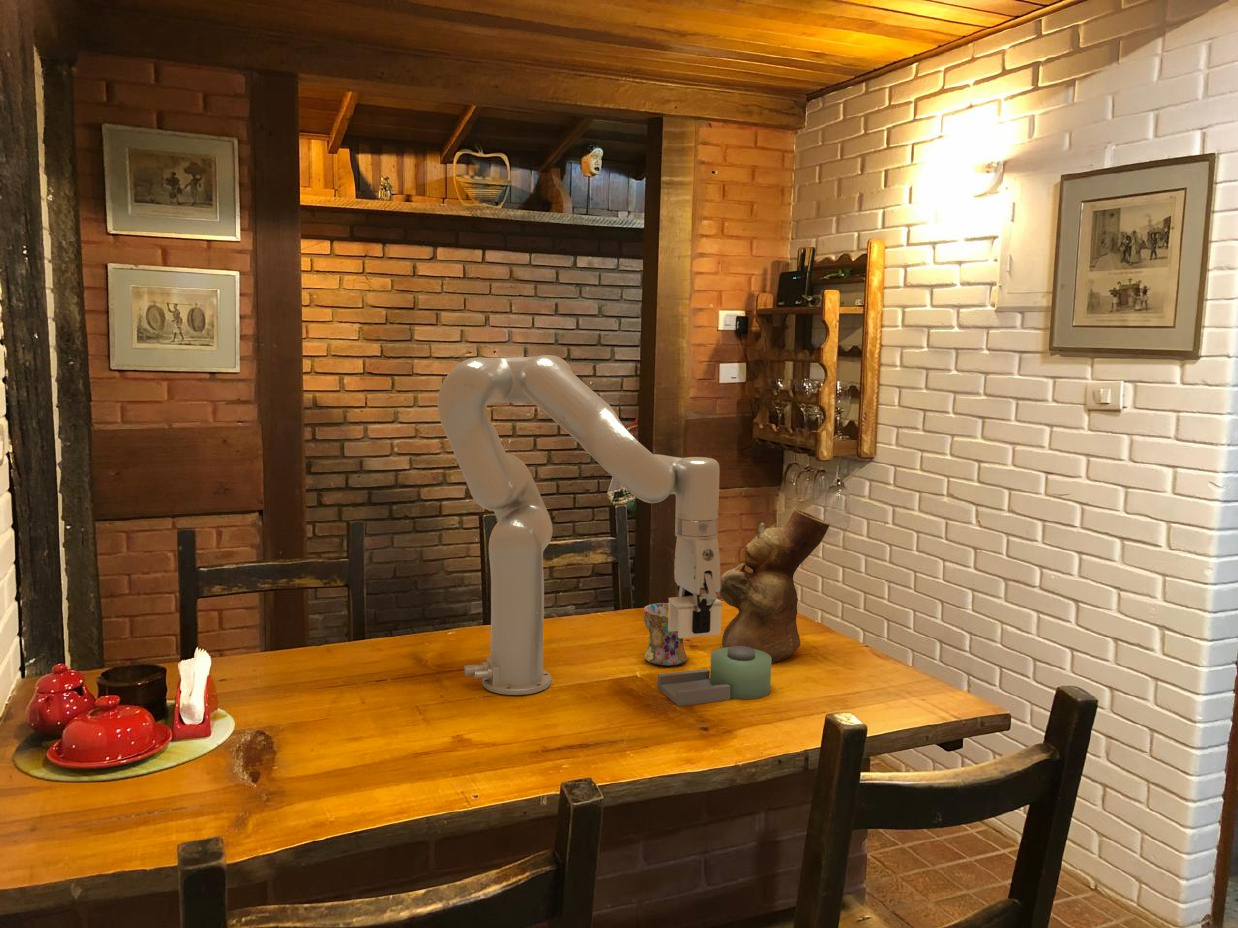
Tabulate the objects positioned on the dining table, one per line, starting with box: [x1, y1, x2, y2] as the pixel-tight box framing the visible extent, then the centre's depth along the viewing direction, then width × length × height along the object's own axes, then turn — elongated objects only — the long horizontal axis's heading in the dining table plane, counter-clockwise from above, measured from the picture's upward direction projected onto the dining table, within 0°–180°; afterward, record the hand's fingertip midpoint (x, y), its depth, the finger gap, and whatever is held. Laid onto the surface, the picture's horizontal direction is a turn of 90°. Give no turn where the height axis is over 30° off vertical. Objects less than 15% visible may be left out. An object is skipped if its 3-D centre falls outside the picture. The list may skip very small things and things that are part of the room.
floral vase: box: [643, 602, 688, 667], centre depth 183 cm, size 12×9×11 cm
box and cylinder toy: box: [656, 646, 772, 707], centre depth 166 cm, size 20×11×7 cm, turn 111°
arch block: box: [668, 596, 723, 639], centre depth 163 cm, size 8×5×6 cm, turn 111°
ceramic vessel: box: [719, 509, 830, 664], centre depth 187 cm, size 16×22×30 cm
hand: (694, 626), depth 163 cm, fingers closed on arch block, 5 cm apart
